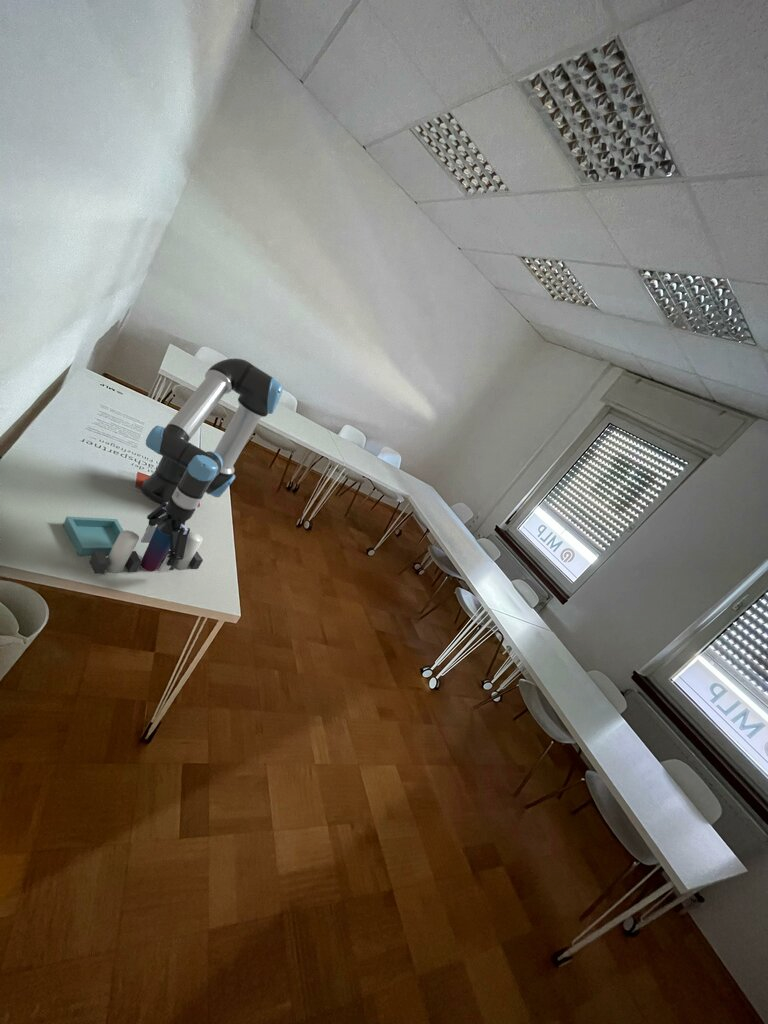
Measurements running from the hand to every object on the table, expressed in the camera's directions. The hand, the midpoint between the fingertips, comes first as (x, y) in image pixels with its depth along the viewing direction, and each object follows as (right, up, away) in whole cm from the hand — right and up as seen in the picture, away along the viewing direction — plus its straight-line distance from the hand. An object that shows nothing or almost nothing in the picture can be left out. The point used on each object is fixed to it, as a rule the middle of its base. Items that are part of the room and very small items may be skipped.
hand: (153, 556), depth 131 cm
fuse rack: (-2, -3, +1) cm, 4 cm away
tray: (-16, +5, -3) cm, 17 cm away
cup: (-2, -3, +1) cm, 4 cm away
